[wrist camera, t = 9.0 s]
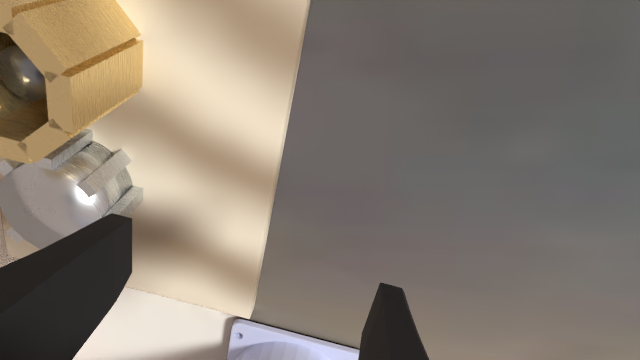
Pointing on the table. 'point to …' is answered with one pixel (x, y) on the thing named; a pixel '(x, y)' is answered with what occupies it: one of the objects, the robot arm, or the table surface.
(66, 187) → the sun gear
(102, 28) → the octagonal wooden pipe
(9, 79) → the pin
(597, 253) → the table surface
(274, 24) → the plate
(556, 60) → the table surface
